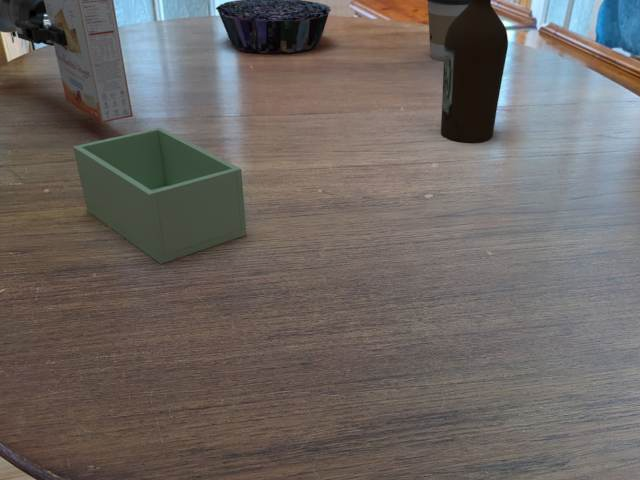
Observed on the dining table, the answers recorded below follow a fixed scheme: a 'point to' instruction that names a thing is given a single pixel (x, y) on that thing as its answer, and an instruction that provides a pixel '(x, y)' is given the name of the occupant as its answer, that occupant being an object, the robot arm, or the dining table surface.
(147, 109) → the dining table surface
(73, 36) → the cracker box
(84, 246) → the dining table surface
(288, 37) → the decorative bowl
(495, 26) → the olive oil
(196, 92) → the dining table surface
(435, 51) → the coffee cup
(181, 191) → the bin
